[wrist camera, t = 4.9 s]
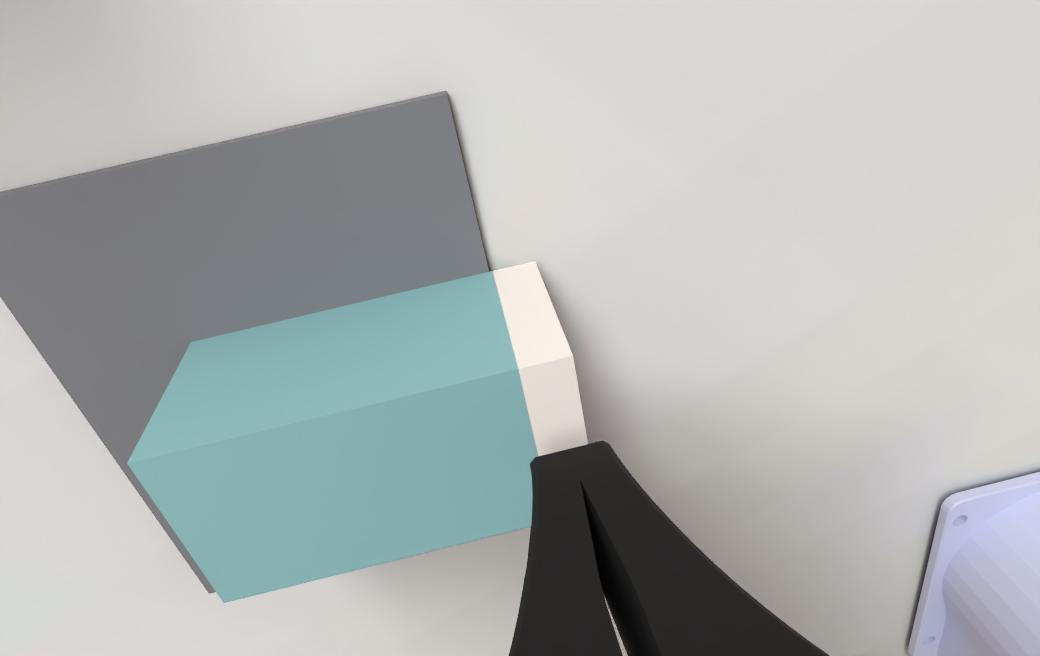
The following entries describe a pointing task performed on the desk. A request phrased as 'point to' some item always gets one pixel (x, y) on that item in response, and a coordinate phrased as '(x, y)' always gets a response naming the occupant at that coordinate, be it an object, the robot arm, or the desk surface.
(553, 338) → the teal block
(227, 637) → the desk surface
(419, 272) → the pad
